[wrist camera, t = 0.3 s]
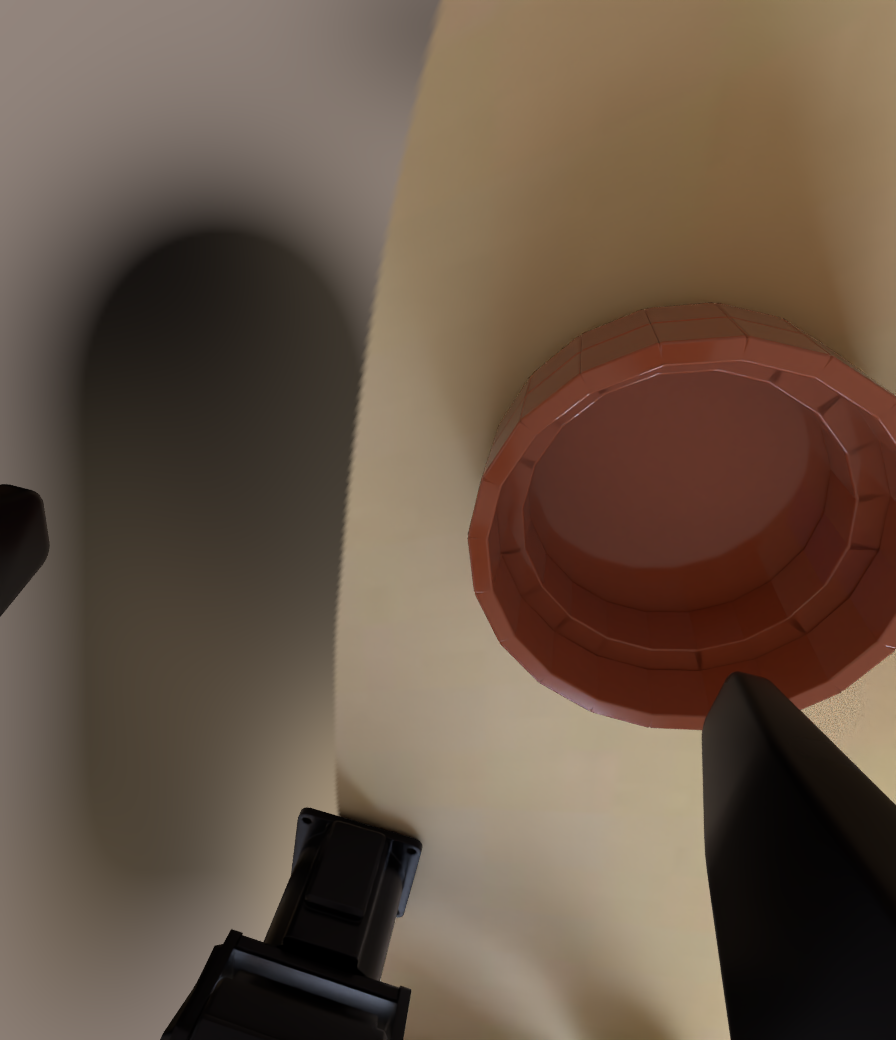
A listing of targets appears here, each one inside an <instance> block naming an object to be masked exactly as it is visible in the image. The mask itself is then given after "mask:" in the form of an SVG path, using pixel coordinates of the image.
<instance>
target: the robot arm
mask: <svg viewBox="0 0 896 1040" xmlns="http://www.w3.org/2000/svg"><path fill="white" fill-rule="evenodd" d="M48 552H49V537H48V531H47V524H46V517H45V511H44V504H43V500H42V499H41V497H40V495H39V494H38V493H36V492H35V491H32V490H29V489H25V488H21V487H17V486H13V485H7V484H2V485H0V616H1V615H2V614H3V613H4V611H5V610H6V609H7V608H8V606H9V605H10V604H11V603H12V602H13V600H14V599H15V598H16V597H17V596H18V594H19V593H20V592H21V591H22V589H23V588H24V587H25V586H26V584H27V583H28V582H29V581H30V580H31V578H32V577H33V576H34V575H35V573H36V572H37V571H38V570H39V568H40V567H41V566H42V565H43V563H44V562H45V560H46V558H47V556H48ZM702 767H703V807H704V840H705V857H706V866H707V875H708V882H709V889H710V896H711V903H712V910H713V918H714V925H715V932H716V939H717V946H718V953H719V960H720V967H721V974H722V981H723V989H724V996H725V1003H726V1010H727V1017H728V1024H729V1031H730V1038H731V1040H896V805H895V804H894V803H893V802H892V801H891V800H890V799H889V798H888V797H887V796H886V795H885V794H884V793H883V792H882V791H881V790H880V789H879V788H878V787H877V786H876V785H875V784H874V783H873V782H872V781H871V780H870V779H869V778H868V777H867V776H866V775H865V774H864V773H863V772H862V771H861V770H860V769H859V768H858V767H857V766H856V765H855V764H854V763H853V762H852V761H851V760H850V759H849V758H848V757H847V756H846V755H845V754H844V753H843V752H842V751H841V750H840V749H839V748H838V747H837V746H836V745H835V744H834V743H833V742H832V741H831V740H830V739H829V738H828V737H827V736H826V735H825V734H824V733H823V732H822V731H821V730H820V729H819V728H818V727H817V726H816V725H815V724H814V723H813V722H812V721H811V720H810V719H809V718H808V717H807V716H806V715H805V714H803V713H802V712H801V711H800V710H799V709H798V708H797V707H796V706H795V705H794V704H793V703H792V702H791V701H790V700H789V699H788V698H787V697H786V696H785V695H784V694H783V693H782V692H781V691H780V690H779V689H778V688H777V687H776V686H775V685H774V684H773V683H772V682H771V681H770V680H768V679H766V678H764V677H760V676H756V675H752V674H748V673H744V672H740V671H735V672H732V673H731V674H730V675H729V676H728V677H727V678H726V680H725V681H724V683H723V685H722V687H721V689H720V691H719V693H718V695H717V697H716V699H715V700H714V702H713V704H712V706H711V708H710V710H709V712H708V714H707V716H706V718H705V721H704V724H703V729H702ZM421 851H422V844H421V842H420V841H419V840H417V839H414V838H411V837H408V836H404V835H401V834H397V833H394V832H391V831H387V830H384V829H380V828H377V827H374V826H370V825H367V824H363V823H360V822H357V821H353V820H350V819H346V818H343V817H340V816H336V815H332V814H329V813H326V812H322V811H319V810H316V809H312V808H303V809H302V810H301V812H300V815H299V817H298V822H297V831H296V839H295V847H294V855H293V863H292V872H291V877H290V879H289V882H288V884H287V886H286V889H285V892H284V894H283V896H282V899H281V901H280V903H279V906H278V908H277V911H276V913H275V916H274V918H273V921H272V923H271V926H270V928H269V930H268V932H267V935H266V937H265V940H264V942H261V941H258V940H255V939H252V938H249V937H246V936H243V935H242V934H243V933H241V932H238V931H235V930H231V931H230V933H229V934H228V936H227V938H226V940H225V942H224V944H221V945H216V946H214V948H213V951H212V953H211V955H210V957H209V959H208V961H207V963H206V965H205V967H204V969H203V971H202V973H201V975H200V977H199V979H198V981H197V983H196V985H195V986H194V988H193V990H192V991H191V993H190V994H189V996H188V997H187V999H186V1000H185V1002H184V1003H183V1005H182V1006H181V1008H180V1009H179V1010H178V1012H177V1013H176V1015H175V1016H174V1018H173V1019H172V1021H171V1022H170V1024H169V1025H168V1027H167V1028H166V1030H165V1031H164V1033H163V1035H162V1037H161V1039H160V1040H403V1037H404V1031H405V1025H406V1019H407V1013H408V1007H409V1001H410V995H411V989H409V988H406V987H403V986H400V987H399V988H398V987H395V986H392V985H389V984H386V983H383V982H380V979H381V975H382V971H383V967H384V963H385V959H386V955H387V951H388V947H389V943H390V939H391V935H392V931H393V927H394V923H395V919H396V917H402V916H403V915H404V912H405V908H406V904H407V901H408V897H409V894H410V890H411V887H412V883H413V880H414V876H415V873H416V869H417V865H418V862H419V858H420V855H421Z"/></svg>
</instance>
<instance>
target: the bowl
mask: <svg viewBox="0 0 896 1040" xmlns="http://www.w3.org/2000/svg"><path fill="white" fill-rule="evenodd" d="M468 546H469V554H470V563H471V571H472V579H473V587H474V592H475V595H476V597H477V599H478V601H479V603H480V605H481V607H482V609H483V611H484V613H485V615H486V617H487V619H488V621H489V623H490V625H491V627H492V629H493V631H494V633H495V635H496V637H497V639H498V641H499V642H500V644H501V645H502V646H503V647H504V648H505V649H506V650H507V651H508V652H509V653H510V654H511V655H512V656H513V657H514V658H515V659H516V660H517V661H518V662H519V663H520V664H521V665H522V666H523V667H524V668H525V669H526V670H527V671H528V672H529V673H530V674H531V675H532V676H533V677H534V678H535V679H536V680H537V681H538V682H540V684H542V685H544V686H546V687H547V688H549V689H551V690H553V691H555V692H556V693H558V694H560V695H562V696H563V697H565V698H567V699H569V700H570V701H572V702H574V703H576V704H578V705H579V706H581V707H583V708H585V709H586V710H588V711H591V712H593V713H597V714H600V715H604V716H608V717H611V718H615V719H618V720H622V721H626V722H629V723H633V724H637V725H640V726H644V727H647V728H648V727H649V726H650V728H665V729H688V730H702V729H703V724H704V721H705V718H706V716H707V714H708V712H709V710H710V708H711V706H712V704H713V702H714V700H715V699H716V697H717V695H718V693H719V691H720V689H721V687H722V685H723V683H724V681H725V680H726V678H727V677H728V676H729V675H730V674H731V673H732V672H735V671H740V672H744V673H748V674H752V675H756V676H760V677H764V678H766V679H768V680H770V681H771V682H772V683H773V684H774V685H775V686H776V687H777V688H778V689H779V690H780V691H781V692H782V693H783V694H784V695H785V696H786V697H787V698H788V699H789V700H790V701H791V702H792V703H793V704H794V705H795V706H796V707H797V708H798V709H799V710H802V709H804V708H806V707H809V706H811V705H813V704H816V703H818V702H820V701H823V700H825V699H827V698H830V697H832V696H834V695H837V694H839V693H841V691H843V690H845V689H846V688H848V687H849V686H850V685H852V684H853V683H854V682H855V681H857V680H858V679H859V678H861V677H862V676H863V675H864V674H866V673H867V672H868V671H870V670H871V669H872V668H873V667H875V666H876V665H877V664H879V663H880V662H881V661H882V660H884V659H885V658H886V657H888V656H889V655H890V654H891V653H893V652H894V651H895V649H896V396H895V395H894V394H892V393H891V392H889V391H888V390H887V389H885V388H884V387H883V386H881V385H880V384H878V383H877V382H876V381H874V380H873V379H872V378H870V377H869V376H867V375H866V374H865V373H863V372H862V371H861V370H859V369H858V368H857V367H855V366H854V365H852V364H851V363H850V362H848V361H847V360H846V359H844V358H843V357H841V356H840V355H839V354H837V353H836V352H834V351H833V350H831V349H830V348H828V347H827V346H825V345H824V344H822V343H821V342H819V341H818V340H816V339H814V338H813V337H811V336H810V335H808V334H807V333H805V332H804V331H802V330H801V329H799V328H798V327H796V326H795V325H793V324H791V323H790V322H788V321H787V320H785V319H783V318H782V319H781V318H780V317H777V316H772V315H768V314H764V313H760V312H755V311H751V310H747V309H742V308H738V307H734V306H729V305H725V304H721V303H716V304H714V303H712V302H710V303H699V304H688V305H676V306H665V307H654V308H647V309H645V310H644V309H641V310H639V311H636V312H634V313H632V314H629V315H627V316H624V317H622V318H619V319H617V320H614V321H612V322H609V323H607V324H605V325H602V326H600V327H597V328H595V329H592V330H590V331H587V332H585V333H583V334H582V336H581V335H580V336H578V337H577V338H575V339H574V340H573V341H572V342H570V343H569V344H568V345H567V346H566V347H564V348H563V349H562V350H561V351H559V352H558V353H557V354H556V355H555V356H553V357H552V358H551V359H550V360H548V361H547V362H546V363H545V364H544V365H542V366H541V367H540V368H539V369H537V370H536V371H535V372H534V373H533V374H532V376H530V377H529V379H528V380H527V382H526V383H525V385H524V386H523V388H522V389H521V391H520V393H519V394H518V396H517V397H516V399H515V400H514V402H513V403H512V405H511V406H510V408H509V410H508V411H507V413H506V414H505V416H504V417H503V419H502V420H501V422H500V425H499V426H498V429H497V432H496V435H495V438H494V442H493V445H492V448H491V451H490V454H489V457H488V460H487V463H486V466H485V469H484V472H483V475H482V478H481V482H480V486H479V490H478V494H477V498H476V503H475V507H474V511H473V515H472V519H471V523H470V527H469V531H468Z"/></svg>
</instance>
